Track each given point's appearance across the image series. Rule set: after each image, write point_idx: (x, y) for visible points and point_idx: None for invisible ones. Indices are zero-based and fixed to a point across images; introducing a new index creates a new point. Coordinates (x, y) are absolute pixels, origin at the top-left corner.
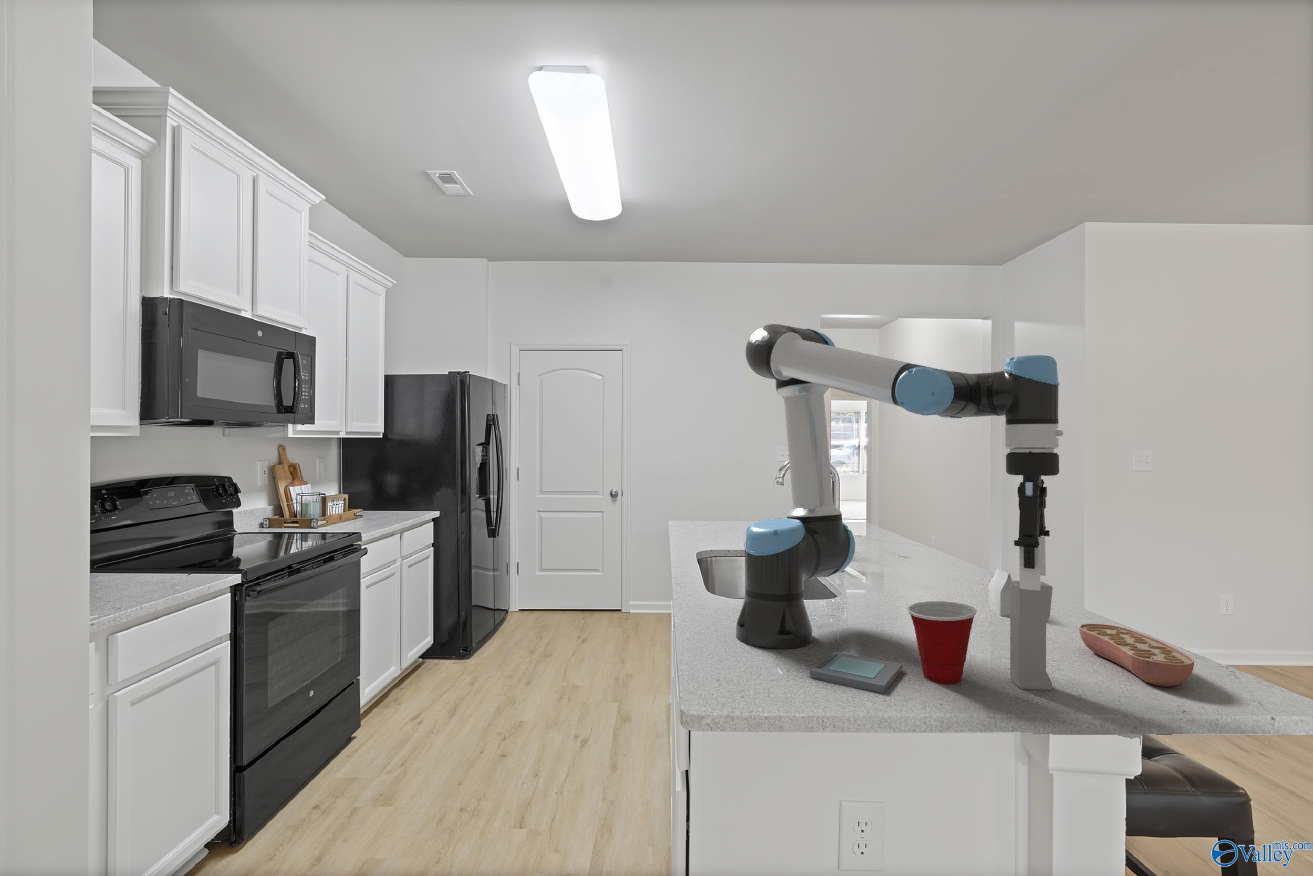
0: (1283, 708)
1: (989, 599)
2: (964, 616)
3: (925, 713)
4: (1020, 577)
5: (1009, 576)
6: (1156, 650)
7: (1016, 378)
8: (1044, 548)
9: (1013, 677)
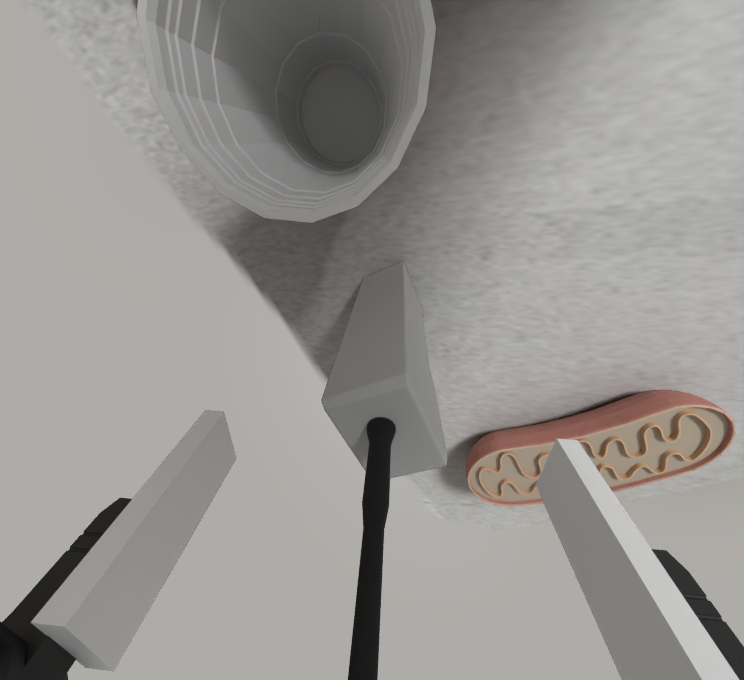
0: (461, 515)
1: None
2: (217, 186)
3: (119, 123)
4: (180, 446)
5: None
6: None
7: None
8: (602, 631)
9: (386, 270)
